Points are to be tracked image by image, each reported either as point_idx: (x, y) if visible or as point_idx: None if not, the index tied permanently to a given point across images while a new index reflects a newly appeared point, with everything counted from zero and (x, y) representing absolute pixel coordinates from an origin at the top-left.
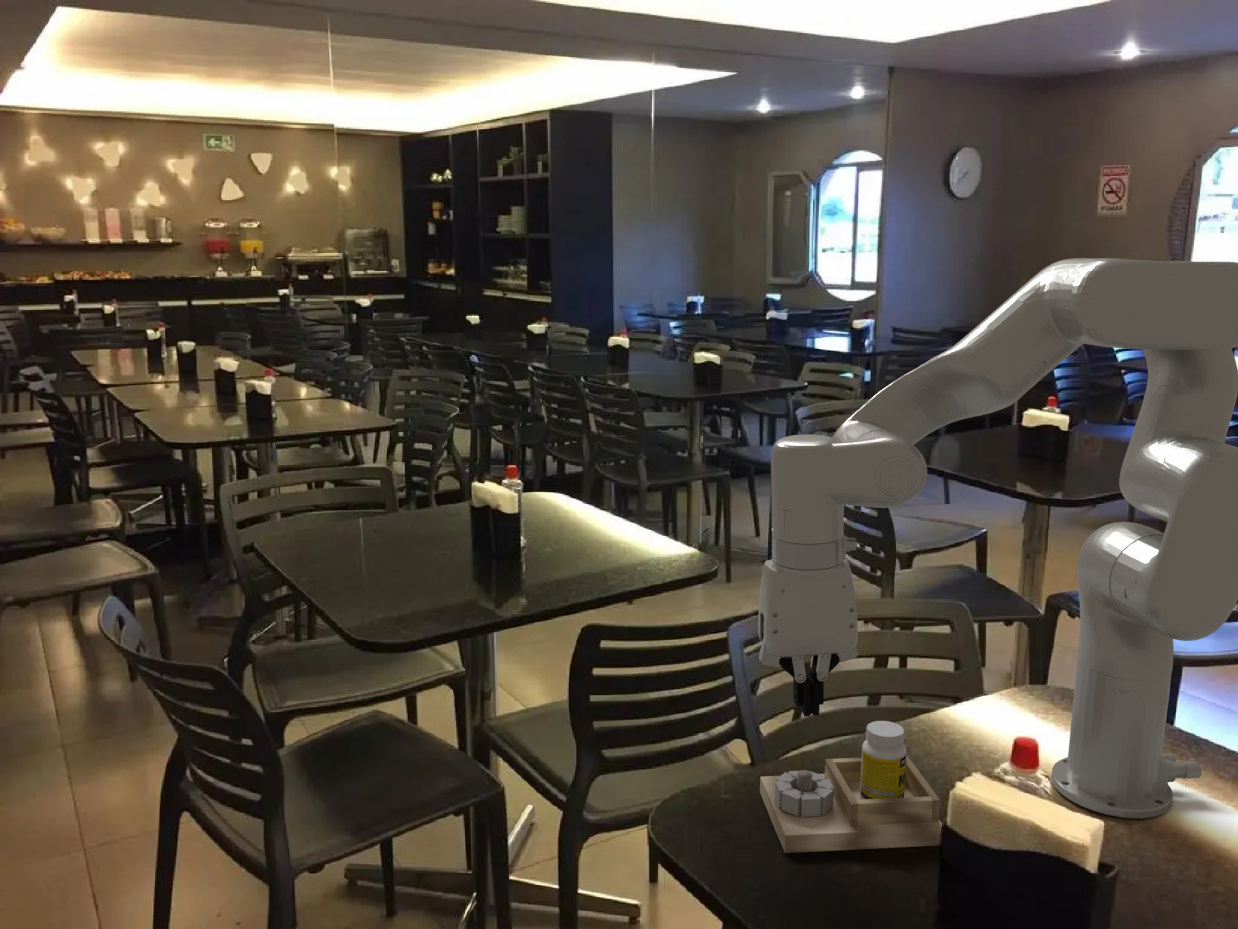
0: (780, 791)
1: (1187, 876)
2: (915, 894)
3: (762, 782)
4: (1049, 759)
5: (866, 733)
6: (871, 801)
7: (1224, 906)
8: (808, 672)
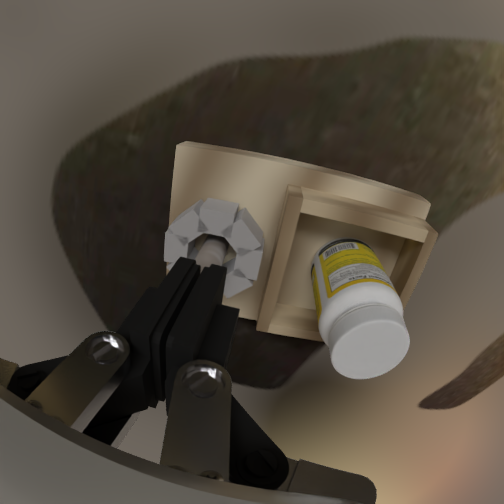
0: (166, 261)
1: (482, 379)
2: (280, 370)
3: (175, 161)
4: None
5: (334, 334)
6: (289, 333)
7: (465, 401)
8: (174, 354)
